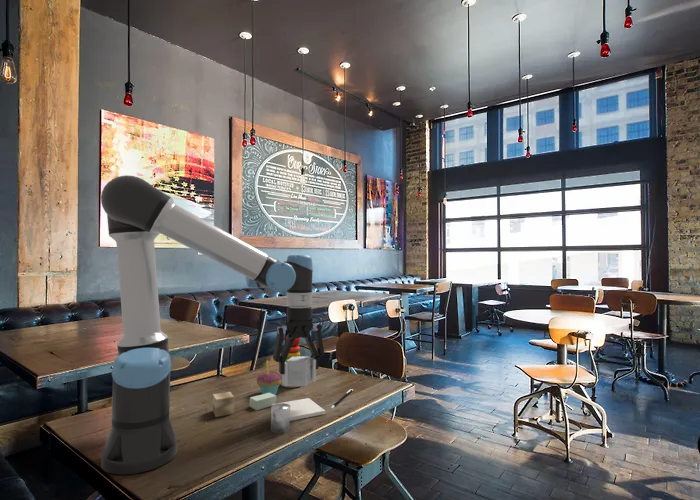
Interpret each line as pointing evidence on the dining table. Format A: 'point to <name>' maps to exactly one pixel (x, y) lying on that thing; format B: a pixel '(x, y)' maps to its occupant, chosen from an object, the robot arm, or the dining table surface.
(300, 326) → the robot arm
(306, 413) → the cream pad
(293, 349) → the stacking toy
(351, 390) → the pen
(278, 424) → the steel cylinder
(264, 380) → the cupcake
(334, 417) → the dining table surface
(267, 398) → the sage block
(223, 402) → the oak cube
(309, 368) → the skincare box
